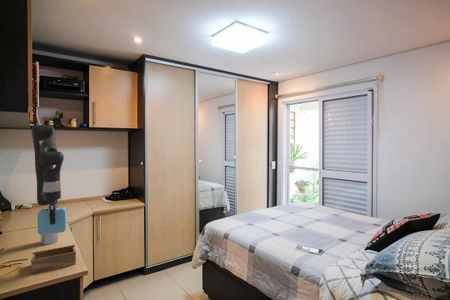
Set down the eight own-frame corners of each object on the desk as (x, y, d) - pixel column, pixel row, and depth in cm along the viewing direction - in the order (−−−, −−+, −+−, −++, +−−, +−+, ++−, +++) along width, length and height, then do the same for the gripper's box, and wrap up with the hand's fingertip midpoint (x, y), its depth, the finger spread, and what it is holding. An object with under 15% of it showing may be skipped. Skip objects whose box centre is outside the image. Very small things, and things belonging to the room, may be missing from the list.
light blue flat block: (66, 229, 141) (66, 207, 141) (65, 231, 137) (65, 208, 137) (39, 232, 136) (39, 209, 136) (37, 235, 132) (37, 211, 132)
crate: (32, 264, 137) (32, 252, 137) (74, 256, 147) (74, 244, 147) (31, 273, 127) (30, 260, 127) (76, 264, 137) (76, 252, 137)
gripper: (44, 189, 141) (44, 220, 141) (42, 192, 128) (43, 227, 129) (60, 187, 144) (61, 218, 145) (60, 191, 132) (61, 225, 132)
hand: (52, 222), depth 137 cm, fingers closed on light blue flat block, 5 cm apart
